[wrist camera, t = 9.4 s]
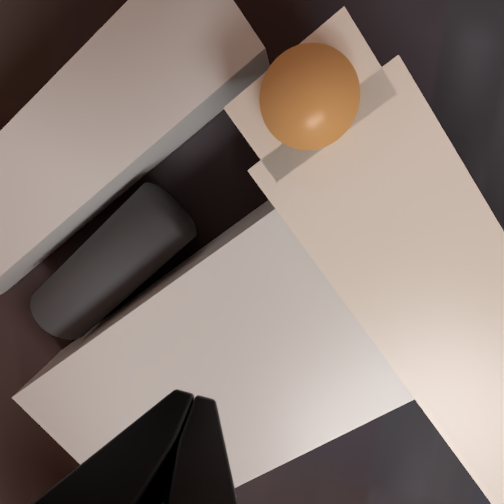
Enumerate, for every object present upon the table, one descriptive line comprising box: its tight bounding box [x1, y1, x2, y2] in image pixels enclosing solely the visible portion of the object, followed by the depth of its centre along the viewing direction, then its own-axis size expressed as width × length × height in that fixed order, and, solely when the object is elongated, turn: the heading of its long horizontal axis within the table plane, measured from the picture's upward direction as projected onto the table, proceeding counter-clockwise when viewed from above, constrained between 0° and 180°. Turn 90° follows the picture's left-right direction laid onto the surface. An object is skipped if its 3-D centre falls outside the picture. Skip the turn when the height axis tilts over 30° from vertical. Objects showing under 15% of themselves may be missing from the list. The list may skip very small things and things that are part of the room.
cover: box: [223, 6, 504, 504], centre depth 12 cm, size 5×18×2 cm, turn 37°
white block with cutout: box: [0, 0, 414, 488], centre depth 17 cm, size 18×19×4 cm
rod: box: [30, 183, 197, 340], centre depth 17 cm, size 8×3×3 cm
